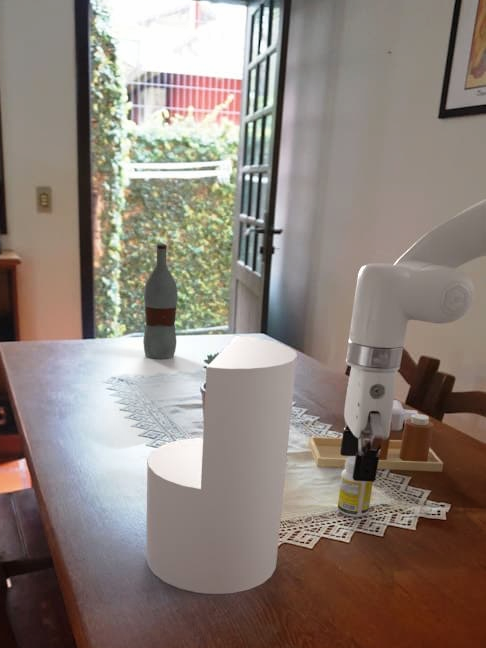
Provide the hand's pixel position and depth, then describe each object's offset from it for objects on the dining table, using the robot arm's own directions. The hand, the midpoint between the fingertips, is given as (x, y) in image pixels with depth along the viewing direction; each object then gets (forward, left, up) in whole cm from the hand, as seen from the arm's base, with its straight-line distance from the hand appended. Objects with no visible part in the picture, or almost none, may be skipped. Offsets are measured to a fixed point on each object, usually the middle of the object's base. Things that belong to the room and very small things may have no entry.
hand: (356, 467), depth 103 cm
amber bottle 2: (-16, -22, -7) cm, 28 cm away
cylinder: (+22, +16, -8) cm, 28 cm away
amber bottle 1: (-8, -22, -7) cm, 25 cm away
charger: (-16, -42, -8) cm, 46 cm away
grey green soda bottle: (+36, -95, -8) cm, 102 cm away
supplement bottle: (0, 0, -8) cm, 8 cm away
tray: (-8, -22, -7) cm, 25 cm away
